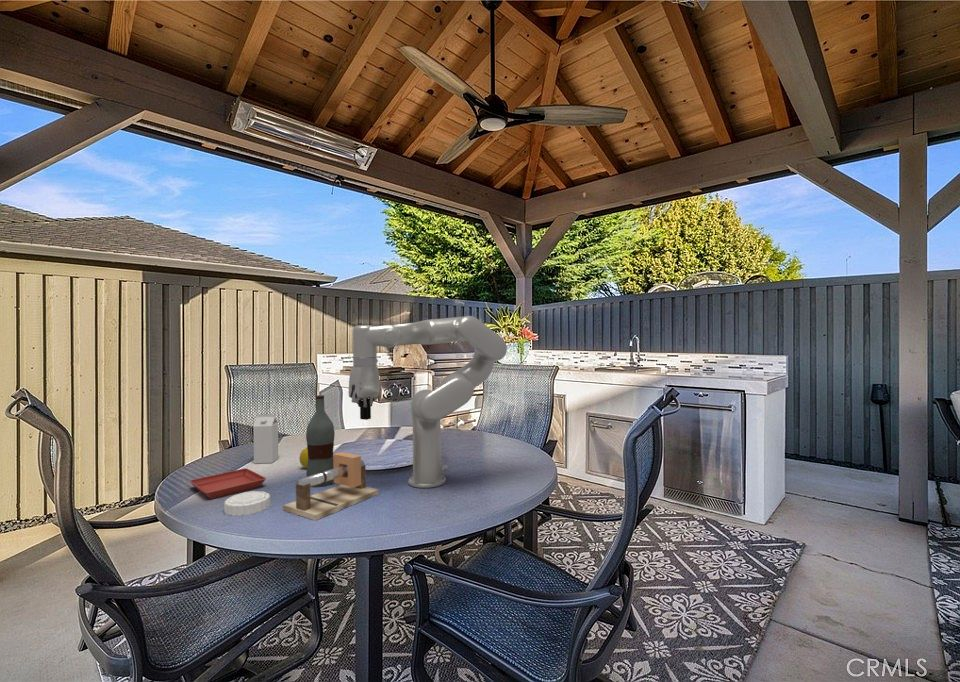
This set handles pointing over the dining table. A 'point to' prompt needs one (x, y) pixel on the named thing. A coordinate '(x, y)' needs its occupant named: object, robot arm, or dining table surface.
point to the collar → (353, 469)
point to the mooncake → (247, 503)
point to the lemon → (304, 457)
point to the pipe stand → (329, 499)
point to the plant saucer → (228, 483)
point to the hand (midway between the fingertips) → (365, 418)
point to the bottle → (320, 442)
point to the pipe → (325, 476)
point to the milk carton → (265, 438)
